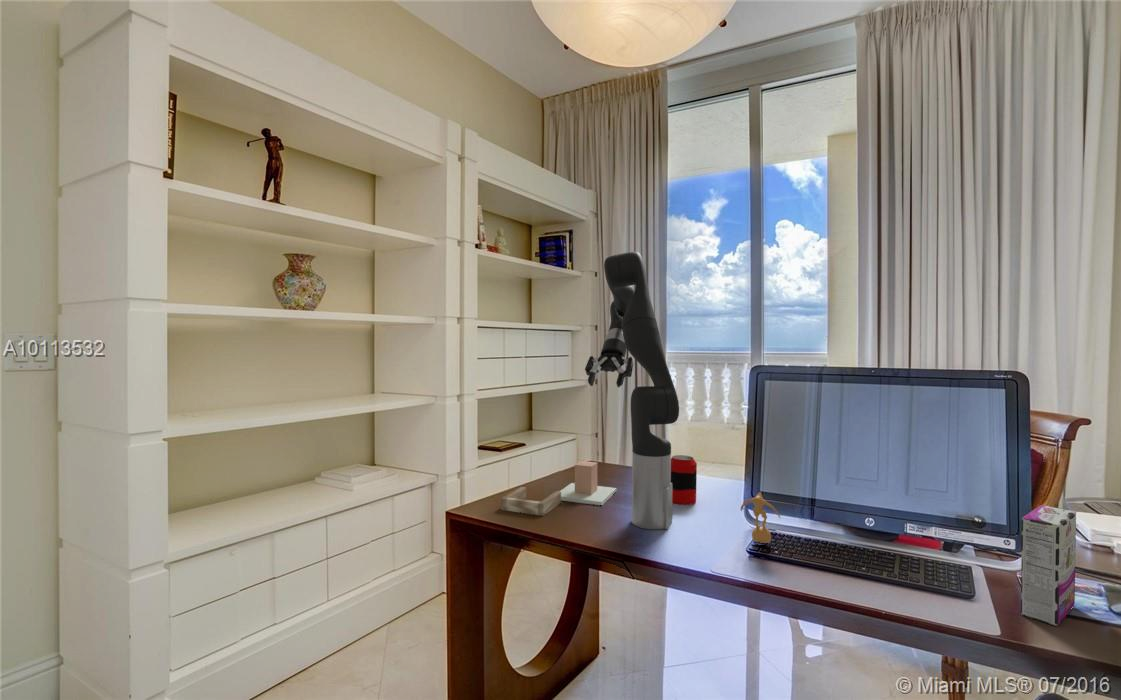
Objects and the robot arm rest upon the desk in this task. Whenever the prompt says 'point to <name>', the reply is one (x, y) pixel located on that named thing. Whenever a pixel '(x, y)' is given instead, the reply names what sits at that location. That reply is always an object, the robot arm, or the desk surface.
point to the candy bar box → (1048, 564)
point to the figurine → (759, 532)
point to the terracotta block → (586, 477)
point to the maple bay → (529, 502)
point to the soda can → (683, 479)
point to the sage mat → (595, 498)
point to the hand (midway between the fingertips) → (604, 384)
